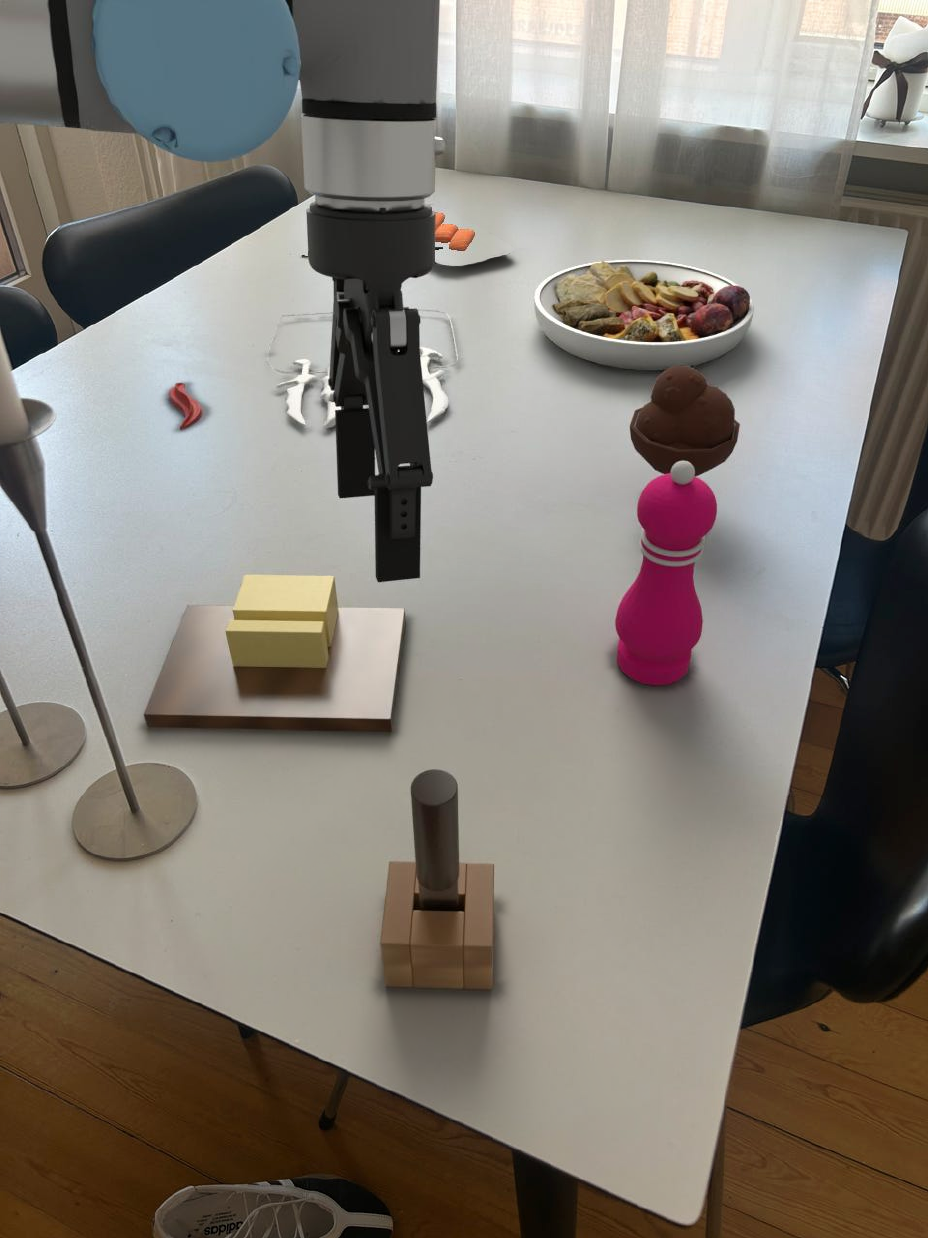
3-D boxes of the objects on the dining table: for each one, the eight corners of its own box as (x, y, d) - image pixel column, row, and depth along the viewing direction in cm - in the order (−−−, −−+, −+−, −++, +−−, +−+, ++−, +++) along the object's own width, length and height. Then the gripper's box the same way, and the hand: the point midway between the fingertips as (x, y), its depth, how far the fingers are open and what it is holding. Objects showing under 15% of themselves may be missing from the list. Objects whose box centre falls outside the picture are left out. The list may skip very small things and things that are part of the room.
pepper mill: (593, 656, 85) (614, 458, 72) (651, 623, 88) (681, 428, 75) (653, 702, 80) (687, 499, 67) (712, 666, 84) (755, 466, 71)
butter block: (239, 645, 84) (232, 610, 81) (251, 609, 88) (244, 574, 85) (330, 647, 84) (326, 611, 81) (338, 610, 88) (334, 575, 85)
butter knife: (419, 963, 62) (408, 805, 52) (422, 928, 64) (412, 768, 54) (460, 964, 62) (456, 806, 52) (461, 929, 64) (458, 769, 54)
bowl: (514, 368, 128) (516, 310, 123) (552, 284, 151) (554, 233, 146) (745, 391, 123) (757, 331, 118) (749, 300, 145) (759, 248, 140)
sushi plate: (521, 261, 159) (521, 237, 156) (355, 297, 147) (353, 273, 145) (435, 212, 178) (435, 191, 175) (283, 242, 166) (280, 219, 164)
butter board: (147, 727, 79) (143, 714, 78) (190, 617, 89) (187, 604, 88) (391, 732, 78) (390, 719, 77) (405, 620, 89) (404, 608, 88)
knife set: (253, 436, 115) (251, 427, 114) (275, 317, 141) (274, 310, 141) (468, 427, 116) (468, 418, 115) (450, 311, 143) (450, 303, 142)
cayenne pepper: (199, 428, 117) (196, 413, 115) (160, 430, 116) (157, 416, 115) (209, 383, 126) (206, 369, 125) (173, 385, 125) (170, 371, 124)
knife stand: (384, 987, 61) (379, 944, 58) (393, 905, 66) (389, 860, 63) (492, 990, 61) (493, 947, 58) (493, 907, 66) (494, 863, 62)
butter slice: (232, 666, 82) (224, 631, 79) (236, 654, 83) (228, 619, 80) (326, 668, 82) (321, 632, 79) (328, 656, 83) (324, 620, 80)
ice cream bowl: (614, 524, 100) (629, 392, 91) (631, 470, 108) (646, 343, 99) (718, 541, 98) (744, 406, 88) (727, 484, 106) (752, 355, 96)
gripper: (499, 234, 47) (481, 614, 57) (387, 176, 67) (389, 464, 78) (346, 235, 45) (356, 629, 55) (279, 175, 65) (295, 471, 76)
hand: (375, 533), depth 67 cm, fingers open, 13 cm apart
